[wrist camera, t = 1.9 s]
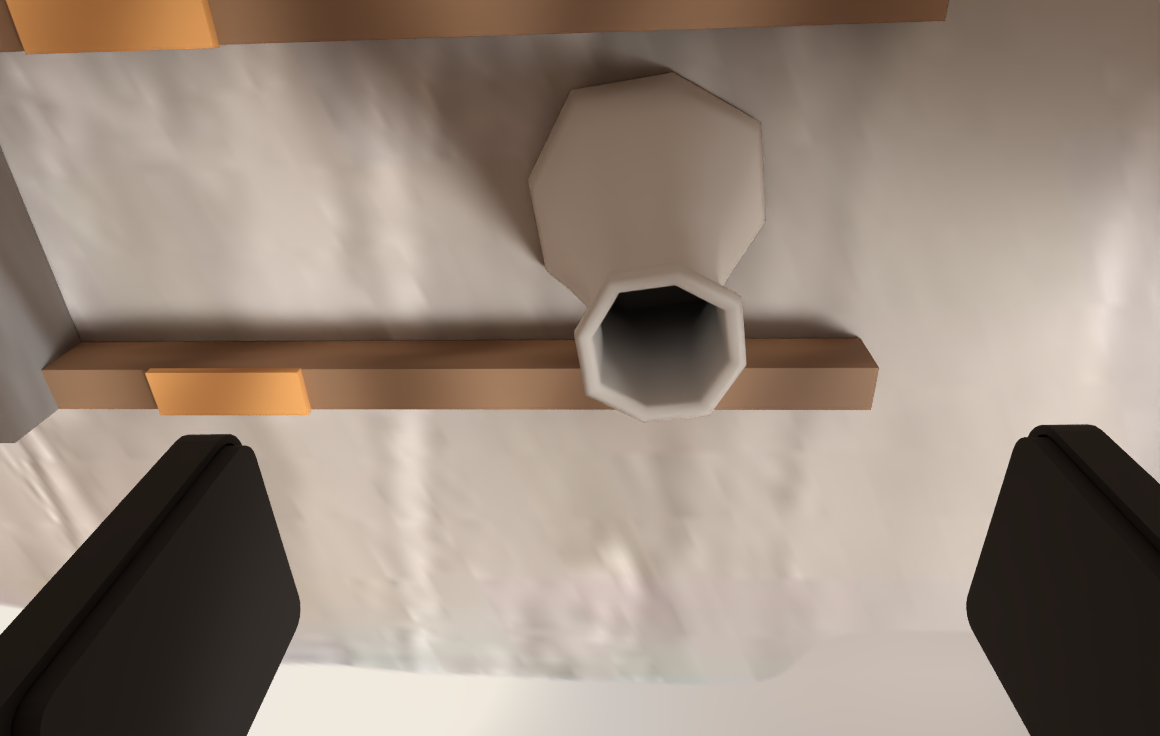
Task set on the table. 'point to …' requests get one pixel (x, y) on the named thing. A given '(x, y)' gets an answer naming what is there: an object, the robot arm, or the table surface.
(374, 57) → the table surface
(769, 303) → the table surface
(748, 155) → the flask
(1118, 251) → the table surface
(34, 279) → the guide channel
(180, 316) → the table surface
